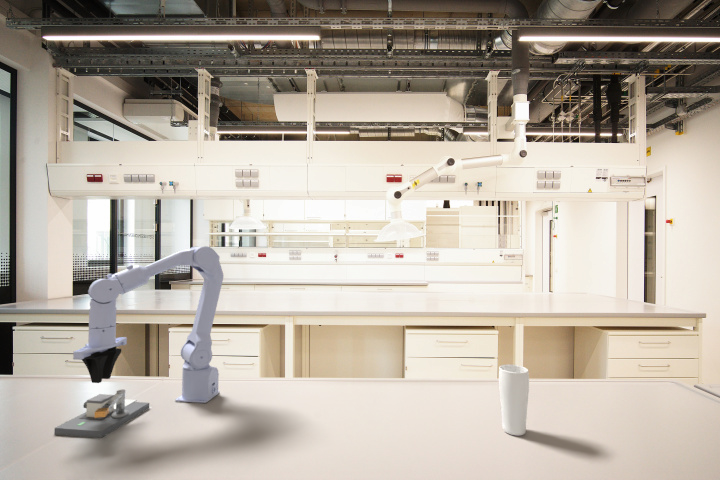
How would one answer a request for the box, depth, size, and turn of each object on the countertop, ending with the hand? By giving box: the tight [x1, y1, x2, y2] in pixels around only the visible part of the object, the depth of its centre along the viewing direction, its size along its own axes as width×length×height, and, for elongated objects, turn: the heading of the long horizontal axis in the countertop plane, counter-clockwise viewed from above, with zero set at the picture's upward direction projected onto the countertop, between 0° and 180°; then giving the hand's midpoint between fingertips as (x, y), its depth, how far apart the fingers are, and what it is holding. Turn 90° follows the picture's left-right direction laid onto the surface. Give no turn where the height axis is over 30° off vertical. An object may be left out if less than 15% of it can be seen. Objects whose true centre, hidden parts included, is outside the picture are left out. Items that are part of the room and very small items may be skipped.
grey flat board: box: [53, 398, 150, 439], centre depth 94 cm, size 12×17×2 cm
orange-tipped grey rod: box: [95, 389, 126, 418], centre depth 87 cm, size 14×2×5 cm, turn 15°
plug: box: [82, 393, 115, 418], centre depth 94 cm, size 6×4×4 cm, turn 83°
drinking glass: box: [498, 364, 530, 437], centre depth 89 cm, size 7×7×15 cm
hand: (101, 380), depth 94 cm, fingers open, 2 cm apart
